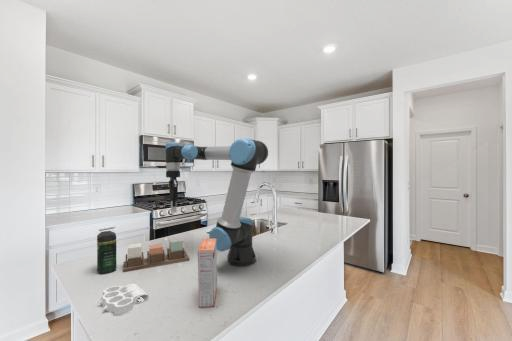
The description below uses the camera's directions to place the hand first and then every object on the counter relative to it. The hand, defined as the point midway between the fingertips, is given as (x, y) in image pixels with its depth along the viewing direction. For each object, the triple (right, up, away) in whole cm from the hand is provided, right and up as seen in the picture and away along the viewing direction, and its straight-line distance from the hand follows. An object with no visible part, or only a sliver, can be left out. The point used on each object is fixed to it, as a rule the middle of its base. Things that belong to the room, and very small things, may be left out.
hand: (173, 212), depth 135 cm
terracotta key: (-6, -22, -9) cm, 25 cm away
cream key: (-15, -20, -14) cm, 29 cm away
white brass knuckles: (-4, -26, -45) cm, 52 cm away
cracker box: (+28, -26, -42) cm, 56 cm away
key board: (-6, -25, -9) cm, 27 cm away
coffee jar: (-26, -25, -18) cm, 41 cm away
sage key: (+3, -20, -5) cm, 21 cm away
